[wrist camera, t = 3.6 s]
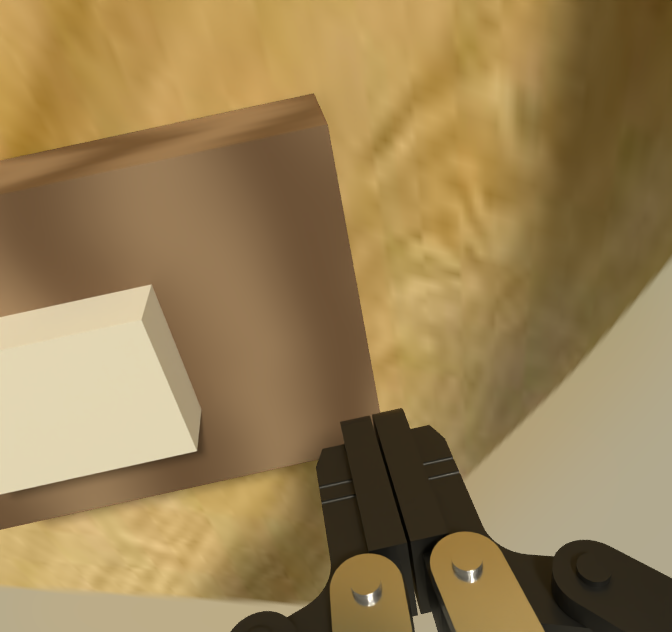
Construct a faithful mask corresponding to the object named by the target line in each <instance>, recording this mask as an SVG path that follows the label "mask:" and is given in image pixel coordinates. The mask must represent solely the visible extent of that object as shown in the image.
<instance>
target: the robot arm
mask: <svg viewBox="0 0 672 632" xmlns="http://www.w3.org/2000/svg"><path fill="white" fill-rule="evenodd" d="M372 420H373V424H372V421H371V417H370V415H369V416H364V417H359V418H355V419H350V420H346V421H341V422H340V425H341V430H342V435H343V440H344V444H342V445H338V446H333V447H329V448H324V449H322V452H321V455H320V457H319V460H318V463H317V466H316V470H317V476H318V483H319V488H320V496H321V502H322V508H323V515H324V521H325V528H326V534H327V541H328V547H329V553H330V560H331V572H330V576H329V580H328V582H327V584H326V586H325V588H324V589H323V591H322V592H321V594H320V595H319V596H318V597H317V598H316V599H315V600H314V601H313V602H311V603H310V604H308V605H307V606H305V607H304V608H302V609H301V610H299V611H297V612H295V613H294V614H292V615H290V616H289V617H285V616H284V615H282V614H280V613H277V612H272V611H263V612H258V613H255V614H252V615H250V616H248V617H246V618H245V619H243V620H242V621H240V622H239V623H238V624H237V625H236V626H235V627H234V628H233V629H232V631H231V632H415V631H414V624H413V618H412V616H416V615H418V613H417V607H416V600H415V594H416V598H417V602H418V605H419V609H420V612H421V614H424V613H428V612H432V613H433V617H434V620H435V623H436V627H437V630H438V632H672V578H670V577H668V576H666V575H664V574H662V573H660V572H658V571H657V570H655V569H653V568H651V567H649V566H647V565H645V564H643V563H641V562H639V561H637V560H635V559H633V558H631V557H630V556H627V555H625V554H624V553H622V552H620V551H618V550H616V549H614V548H612V547H610V546H608V545H606V544H603V543H600V542H597V541H591V540H577V541H573V542H570V543H567V544H565V545H564V546H562V547H561V548H560V549H559V550H558V551H557V552H556V554H555V556H554V557H553V556H540V555H539V556H538V555H527V554H520V553H516V552H513V551H510V550H508V549H505V548H504V547H502V546H500V545H499V544H497V543H496V542H495V541H494V540H492V538H491V537H490V536H489V535H488V534H487V533H486V531H485V530H484V528H483V526H482V523H481V521H480V519H479V517H478V514H477V512H476V509H475V507H474V505H473V503H472V500H471V498H470V496H469V493H468V491H467V489H466V486H465V484H464V482H463V479H462V477H461V475H460V474H459V470H458V468H457V466H456V463H455V461H454V460H453V457H452V454H451V452H450V449H449V447H448V445H447V442H446V440H445V438H444V437H442V436H441V435H440V434H439V433H438V432H437V431H436V430H434V429H433V428H432V427H431V426H430V425H427V426H423V427H418V428H414V429H410V427H409V424H408V421H407V419H406V416H405V413H404V411H403V409H402V408H400V409H395V410H391V411H386V412H382V413H377V414H372ZM373 426H374V427H373ZM414 591H415V593H414Z"/></svg>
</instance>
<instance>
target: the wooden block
mask: <svg viewBox="0 0 672 632" xmlns="http://www.w3.org/2000/svg"><path fill="white" fill-rule="evenodd" d="M151 284H152V287H153V289H154V292H155V294H156V297H157V299H158V302H159V304H160V307H161V309H162V312H163V314H164V317H165V319H166V322H167V324H168V327H169V329H170V332H171V334H172V337H173V339H174V342H175V344H176V347H177V349H178V352H179V354H180V357H181V359H182V362H183V365H184V367H185V370H186V372H187V375H188V377H189V380H190V382H191V385H192V387H193V390H194V392H195V395H196V397H197V400H198V402H199V405H200V407H201V418H200V428H199V437H198V447H197V451H195V452H191V453H186V454H182V455H177V456H173V457H168V458H164V459H159V460H155V461H150V462H145V463H141V464H136V465H132V466H127V467H123V468H118V469H114V470H109V471H105V472H100V473H95V474H91V475H86V476H82V477H77V478H73V479H68V480H64V481H59V482H55V483H50V484H46V485H41V486H36V487H32V488H27V489H23V490H18V491H14V492H9V493H5V494H0V530H1V529H6V528H10V527H15V526H19V525H24V524H28V523H33V522H37V521H42V520H46V519H51V518H55V517H60V516H64V515H69V514H73V513H78V512H83V511H87V510H92V509H96V508H101V507H105V506H110V505H114V504H119V503H123V502H128V501H132V500H137V499H141V498H146V497H150V496H155V495H160V494H164V493H169V492H173V491H178V490H182V489H187V488H191V487H196V486H200V485H205V484H209V483H214V482H218V481H223V480H227V479H232V478H237V477H241V476H246V475H250V474H255V473H259V472H264V471H268V470H273V469H277V468H282V467H286V466H291V465H295V464H300V463H304V462H309V461H313V460H318V459H319V457H320V455H321V452H322V449H324V448H329V447H333V446H338V445H342V444H344V440H343V435H342V430H341V425H340V422H341V421H346V420H350V419H355V418H359V417H364V416H369V415H370V417H371V421H372V424H373V420H372V414H377V413H380V409H379V404H378V398H377V393H376V387H375V382H374V376H373V371H372V365H371V360H370V354H369V349H368V343H367V338H366V332H365V327H364V321H363V316H362V310H361V305H360V299H359V294H358V288H357V283H356V278H355V272H354V267H353V261H352V256H351V250H350V245H349V239H348V234H347V228H346V223H345V217H344V212H343V206H342V201H341V195H340V190H339V184H338V179H337V173H336V168H335V162H334V157H333V152H332V146H331V141H330V135H329V130H328V124H327V122H326V120H325V118H324V115H323V113H322V111H321V109H320V106H319V104H318V102H317V100H316V97H315V95H314V94H309V95H305V96H300V97H295V98H291V99H286V100H281V101H277V102H272V103H267V104H263V105H258V106H253V107H249V108H244V109H239V110H235V111H230V112H225V113H221V114H216V115H211V116H207V117H202V118H197V119H193V120H188V121H183V122H179V123H174V124H169V125H165V126H160V127H155V128H151V129H146V130H141V131H137V132H132V133H127V134H123V135H118V136H113V137H109V138H104V139H99V140H95V141H90V142H85V143H81V144H76V145H71V146H67V147H62V148H57V149H53V150H48V151H43V152H39V153H34V154H29V155H25V156H20V157H15V158H11V159H6V160H1V161H0V317H4V316H8V315H13V314H18V313H22V312H27V311H31V310H36V309H41V308H45V307H50V306H54V305H59V304H64V303H68V302H73V301H78V300H82V299H87V298H91V297H96V296H101V295H105V294H110V293H114V292H119V291H124V290H128V289H133V288H137V287H142V286H147V285H151ZM373 427H374V426H373Z"/></svg>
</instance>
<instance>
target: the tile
mask: <svg viewBox="0 0 672 632" xmlns="http://www.w3.org/2000/svg"><path fill="white" fill-rule="evenodd" d="M200 418H201V407H200V405H199V402H198V400H197V397H196V395H195V392H194V390H193V387H192V385H191V382H190V380H189V377H188V375H187V372H186V370H185V367H184V365H183V362H182V359H181V357H180V354H179V352H178V349H177V347H176V344H175V342H174V339H173V337H172V334H171V332H170V329H169V327H168V324H167V322H166V319H165V317H164V314H163V312H162V309H161V307H160V304H159V302H158V299H157V297H156V294H155V292H154V289H153V287H152V284H151V285H147V286H142V287H137V288H133V289H128V290H124V291H119V292H114V293H110V294H105V295H101V296H96V297H91V298H87V299H82V300H78V301H73V302H68V303H64V304H59V305H54V306H50V307H45V308H41V309H36V310H31V311H27V312H22V313H18V314H13V315H8V316H4V317H0V494H5V493H9V492H14V491H18V490H23V489H27V488H32V487H36V486H41V485H46V484H50V483H55V482H59V481H64V480H68V479H73V478H77V477H82V476H86V475H91V474H95V473H100V472H105V471H109V470H114V469H118V468H123V467H127V466H132V465H136V464H141V463H145V462H150V461H155V460H159V459H164V458H168V457H173V456H177V455H182V454H186V453H191V452H195V451H197V447H198V437H199V428H200Z"/></svg>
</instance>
